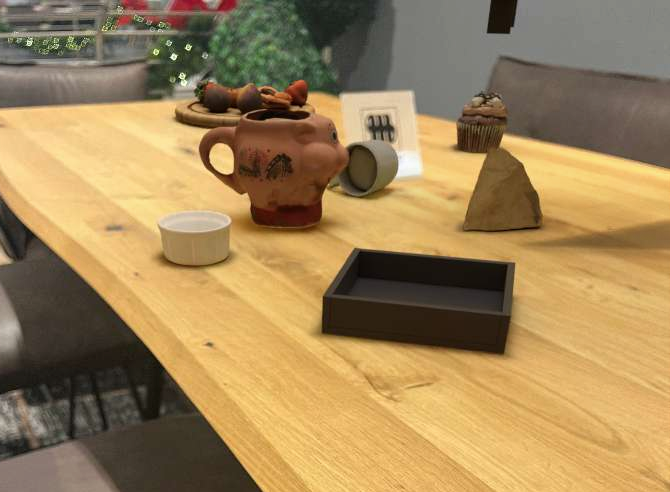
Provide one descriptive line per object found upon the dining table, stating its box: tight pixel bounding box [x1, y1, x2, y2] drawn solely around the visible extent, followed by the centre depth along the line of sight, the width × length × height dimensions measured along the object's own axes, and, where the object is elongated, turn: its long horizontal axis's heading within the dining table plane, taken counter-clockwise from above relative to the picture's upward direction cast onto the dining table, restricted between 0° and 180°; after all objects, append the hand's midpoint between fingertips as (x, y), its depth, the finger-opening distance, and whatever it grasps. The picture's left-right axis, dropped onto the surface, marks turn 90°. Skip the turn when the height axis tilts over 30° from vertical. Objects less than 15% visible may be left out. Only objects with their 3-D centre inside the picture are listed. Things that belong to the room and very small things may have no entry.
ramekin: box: [157, 210, 232, 267], centre depth 93 cm, size 9×9×4 cm
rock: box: [462, 147, 543, 232], centre depth 103 cm, size 11×9×10 cm
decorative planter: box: [198, 109, 349, 229], centre depth 102 cm, size 20×12×14 cm, turn 91°
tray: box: [321, 247, 516, 355], centre depth 78 cm, size 18×16×4 cm
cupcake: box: [455, 90, 509, 154], centre depth 147 cm, size 10×10×10 cm
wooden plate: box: [174, 78, 316, 128], centre depth 173 cm, size 32×32×8 cm
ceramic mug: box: [328, 139, 400, 198], centre depth 119 cm, size 11×8×8 cm
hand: (500, 30), depth 96 cm, fingers open, 13 cm apart
